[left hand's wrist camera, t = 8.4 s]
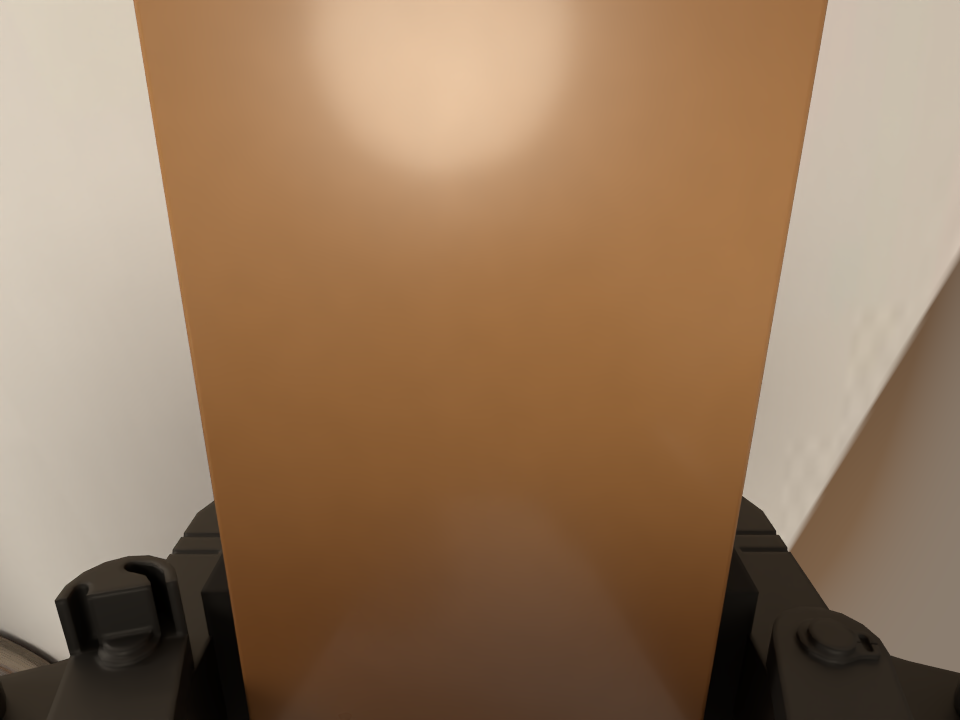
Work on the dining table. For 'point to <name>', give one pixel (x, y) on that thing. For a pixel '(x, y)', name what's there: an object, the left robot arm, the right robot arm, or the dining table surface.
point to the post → (478, 334)
